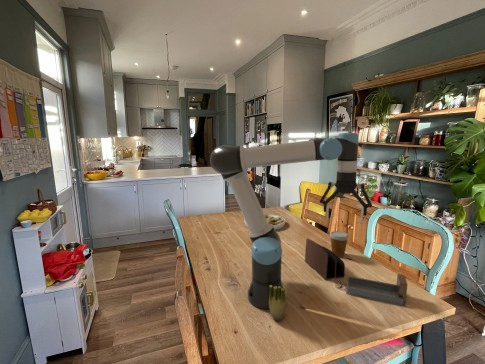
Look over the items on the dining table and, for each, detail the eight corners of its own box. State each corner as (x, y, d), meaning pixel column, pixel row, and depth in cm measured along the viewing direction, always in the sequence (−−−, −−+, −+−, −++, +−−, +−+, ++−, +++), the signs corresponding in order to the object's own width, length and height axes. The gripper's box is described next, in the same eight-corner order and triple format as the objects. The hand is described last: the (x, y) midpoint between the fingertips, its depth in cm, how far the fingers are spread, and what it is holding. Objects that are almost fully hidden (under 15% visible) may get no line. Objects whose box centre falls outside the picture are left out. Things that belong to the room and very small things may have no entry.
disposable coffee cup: (350, 254, 142) (351, 233, 140) (343, 260, 135) (344, 238, 133) (333, 249, 149) (334, 229, 147) (325, 255, 142) (326, 234, 140)
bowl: (263, 217, 212) (263, 208, 211) (293, 226, 190) (293, 215, 189) (236, 226, 192) (235, 215, 191) (265, 236, 170) (265, 225, 169)
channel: (406, 307, 97) (408, 286, 96) (346, 295, 105) (347, 275, 104) (401, 293, 106) (403, 273, 105) (346, 282, 114) (348, 264, 113)
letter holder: (325, 282, 116) (326, 252, 113) (304, 261, 135) (305, 236, 132) (344, 278, 118) (346, 249, 116) (321, 259, 137) (322, 234, 135)
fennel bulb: (267, 315, 94) (267, 285, 92) (277, 310, 97) (277, 280, 95) (277, 324, 89) (278, 292, 87) (288, 318, 92) (288, 287, 90)
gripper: (380, 171, 104) (376, 221, 107) (316, 169, 114) (315, 215, 117) (381, 173, 97) (377, 227, 101) (313, 171, 107) (312, 220, 110)
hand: (344, 221), depth 109 cm, fingers open, 13 cm apart
